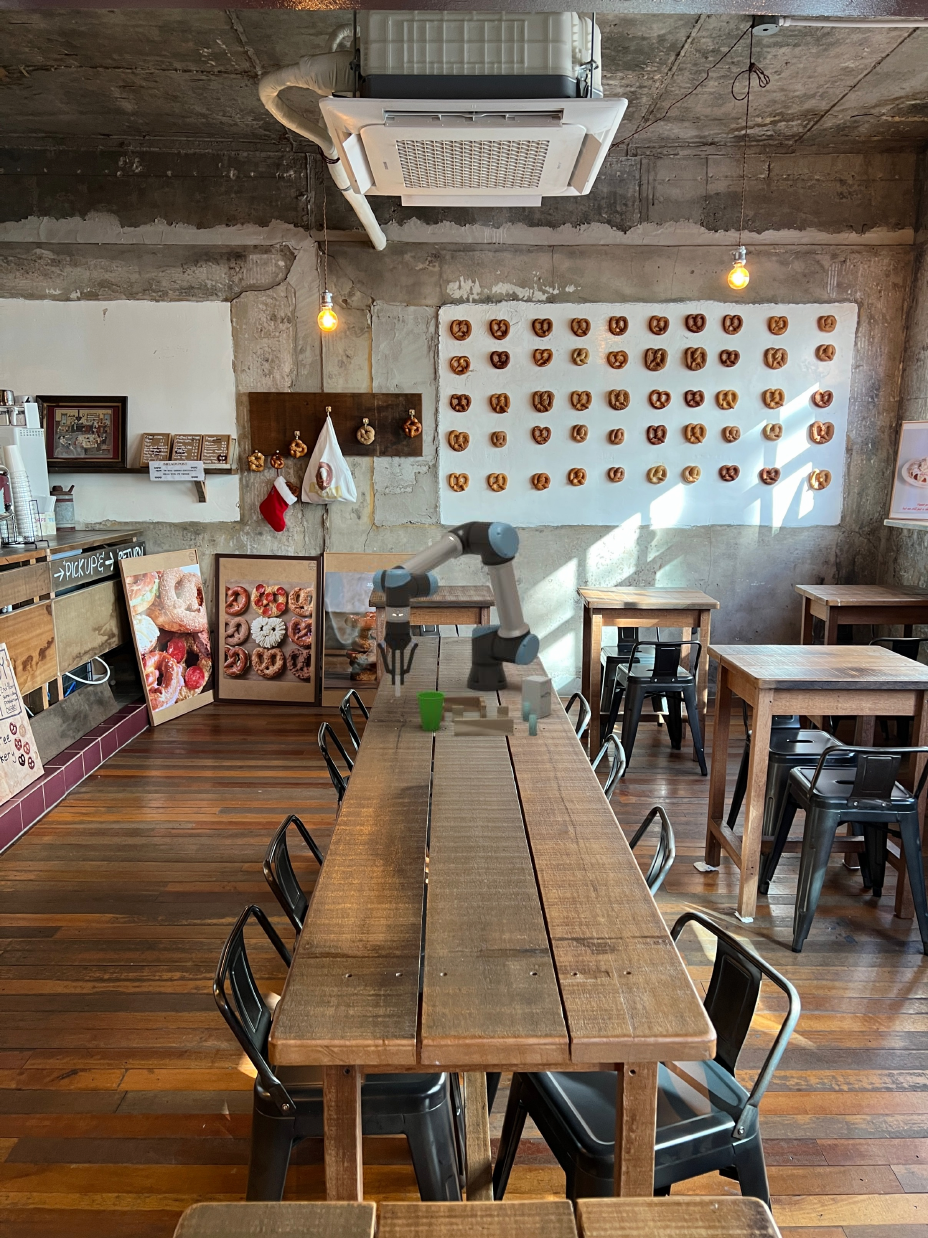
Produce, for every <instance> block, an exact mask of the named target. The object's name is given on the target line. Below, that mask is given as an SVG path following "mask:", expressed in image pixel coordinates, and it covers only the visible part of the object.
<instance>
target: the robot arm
mask: <svg viewBox="0 0 928 1238" xmlns="http://www.w3.org/2000/svg"><path fill="white" fill-rule="evenodd" d="M519 546H520V538H519V534H518V532H517V530H516V528H515V527H514V526H513V525H511V524H509V523H506V522H502V521H478V520H477V521H476V520H474V521H468V522H464V523H462V524H460V525H457V526H456V527H453V528H452V529H449V530H448V531H447V532H444V533H443V534H442V535H441V537H440V539H439V540H437V541H436V542H434V543H432V544H430V545H429V546H427V547H425V548H423V549H422V550H420V551H419V552H417V553H415V554H414V555H412V556H411V557H408V558H407V559H405V560H404V561H402V562H400V563H398V564H397V565H396V566H393V567H392V568H390V569H379V570H376V572H375V573H374V574H373V577H372V586H373V589H374V590H375V591H376V592H377V593H380V594H384V596H385V606H384V607H385V620H386V621H385V631H384V632H385V633H384V634H385V635H384V637H383V639H381V640H380V641H378V642H377V643H376V647H377V649H379V651H380V655H381V659H382V663H383V666H384V670H385V673H386V674H389V675H390V677H391V685H392V686H394V687H395V691H394V692H395V694H394V695H395V696H394V697H401V686H404V685H405V675H406V674H407V675H408V674H409V673H410V672H411V668H412V663H413V660H414V656H415V653H416V650H417V649H418V647H419V642H418V641H415V640H414V639H413V638H412V636H411V621H410V619H411V600H412V599H413V600H414V599H421V598H428V597H429V598H430V597H432V596H434V595H436V594H437V592H438V590H439V580H438V577H437V576H436V575H435V574H433V573H432V571H433V570H435V569H437V568H439V567H441V566H442V565H443V564H445V563H447V562H448V561H450V560H451V559H454V560H455V559H458V558H460V557H462V556H468V555H475V556H480V559H481V562H482V565H483V566H485V567H487V569H488V574H489V579H490V583H491V589H492V593H493V598H494V602H495V607H496V612H497V615H498V622H499V623H494V624H485V625H478V626H476V627H473V629H472V630H471V638H470V639H471V666H470V670H469V673H468V677H467V679H466V687H468V689H471V690H475V691H484V692H485V691H486V692H487V691H501V690H503V689H506V688H507V687H508V678H507V676H506V673H505V672H506V671H505V669H504V665H503V664H504V663H508V664H514V665H517V666H520V665H521V666H529V665H531V664H532V663H533V662H534V661H535V659H536V658H537V656H538V654H539V651H540V639H539V636H538V635H537V634H535V633H531V629H530V628H531V627H530V625H529V623H527V622H525V619H524V616H523V615H524V614H523V610H522V605H521V601H520V595H519V591H518V585H517V579H516V576H515V572H514V570H515V569H514V565H513V561H514V560H515V559H516V555H517V553H518V551H519V549H520V547H519ZM386 645H387V647H388V648H389V649H390V650H391V668H390V666H389V662H388V661H389V660H388V656H387V652H386V649H385V647H386ZM409 645H410V652H409V657H408V659H407V665H406V668H405V650H406V648H408V646H409ZM396 651H399V673H397V671H396V669H397V668H396V666H397V665H396V663H397V662H396V659H397V658H396V654H397V653H396Z"/></svg>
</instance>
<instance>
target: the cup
mask: <svg viewBox="0 0 928 1238" xmlns="http://www.w3.org/2000/svg"><path fill="white" fill-rule="evenodd" d="M415 696H416V697H417V701H418V709H419V714H420V715H419V716H420V721H421V726H422V727H421V728H422V730H423V731H427V732H435V731H438V730H439V729H440V725H441V721H440V720H441V714H442V708H443V701H444V697H445V696H446V694H445V693H444V692H442V691H439V690H438V691H437V690H425V691H420V692H418V693H416V694H415Z"/></svg>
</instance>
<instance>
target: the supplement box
mask: <svg viewBox="0 0 928 1238" xmlns="http://www.w3.org/2000/svg"><path fill="white" fill-rule="evenodd" d="M552 683H553V682H552V677H548V676H543V675H535V674H534V675H530V676H527V677H524V678H521V705H520V706H521V707H520V709H521V710H520V713H521V715H520V716H522V717H523V702H530V703H531V708H530V715H532V714H534V715H537V720H540V719H542V718H544V717H547V716H550V715H551V714H552Z"/></svg>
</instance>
